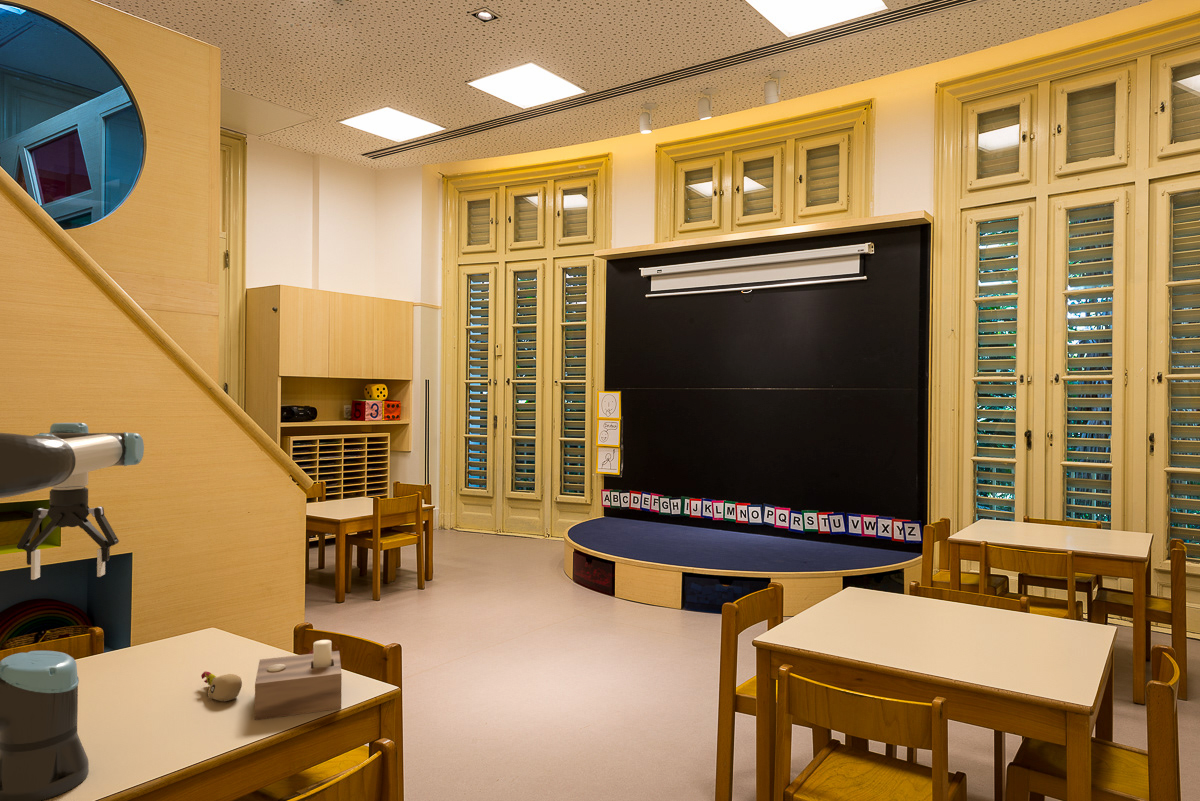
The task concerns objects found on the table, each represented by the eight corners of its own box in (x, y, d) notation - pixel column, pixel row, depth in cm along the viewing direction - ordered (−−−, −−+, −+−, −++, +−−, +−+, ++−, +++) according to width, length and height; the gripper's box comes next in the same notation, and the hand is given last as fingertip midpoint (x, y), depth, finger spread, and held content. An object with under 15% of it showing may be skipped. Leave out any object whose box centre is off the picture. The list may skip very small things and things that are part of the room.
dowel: (331, 678, 176) (331, 644, 176) (313, 680, 175) (313, 646, 174) (331, 672, 180) (331, 639, 180) (313, 674, 178) (313, 640, 178)
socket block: (341, 708, 171) (341, 671, 171) (254, 720, 165) (254, 681, 165) (338, 682, 186) (339, 649, 186) (259, 692, 180) (259, 657, 180)
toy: (187, 677, 180) (210, 693, 170) (215, 656, 185) (238, 671, 175) (200, 695, 183) (224, 712, 172) (227, 674, 187) (251, 689, 177)
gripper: (133, 484, 185) (133, 570, 185) (16, 486, 179) (15, 575, 179) (122, 488, 178) (122, 577, 178) (-1, 490, 171) (-1, 583, 171)
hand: (68, 577), depth 178 cm, fingers open, 13 cm apart
